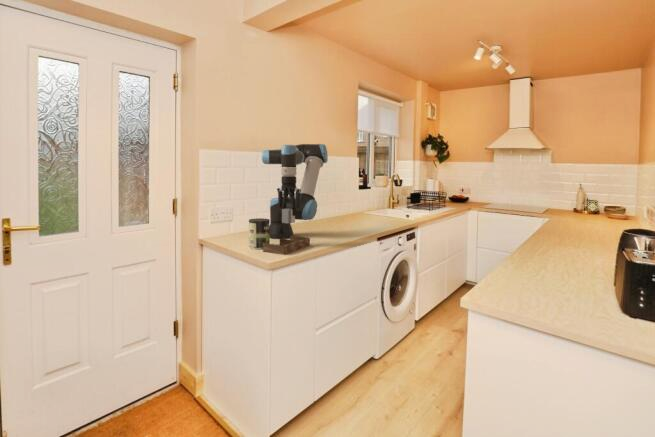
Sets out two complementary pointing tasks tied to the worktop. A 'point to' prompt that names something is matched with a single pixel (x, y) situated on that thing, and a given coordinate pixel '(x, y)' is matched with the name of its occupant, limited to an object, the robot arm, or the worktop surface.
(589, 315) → the worktop surface
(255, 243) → the coffee can
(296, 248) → the comb rack
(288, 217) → the grey block
